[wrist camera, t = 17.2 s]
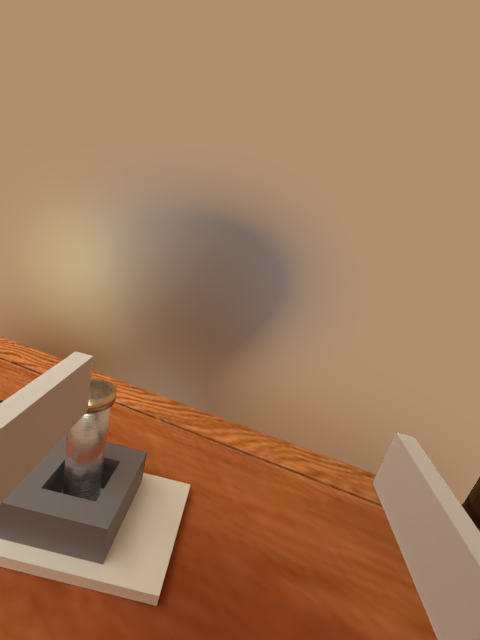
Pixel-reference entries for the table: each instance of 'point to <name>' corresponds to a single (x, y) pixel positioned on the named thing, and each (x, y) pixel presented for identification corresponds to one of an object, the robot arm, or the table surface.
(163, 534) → the board
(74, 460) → the steel pin
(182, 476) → the table surface
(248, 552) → the table surface
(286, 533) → the table surface
